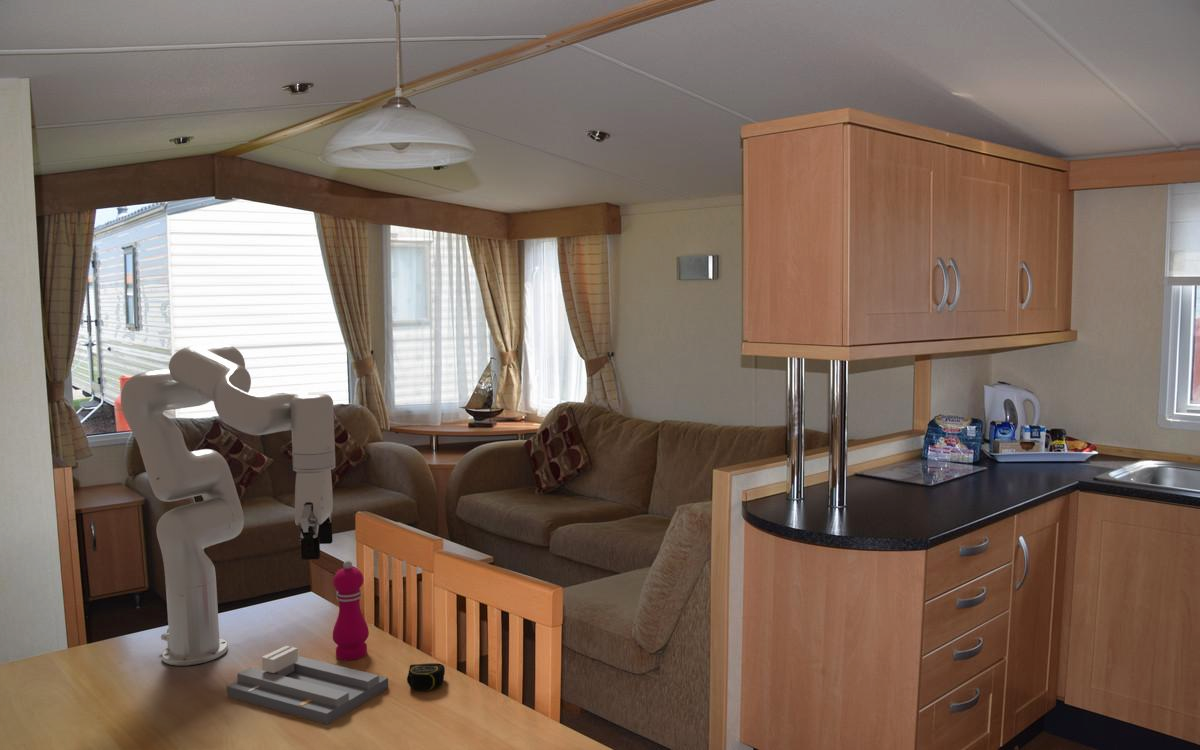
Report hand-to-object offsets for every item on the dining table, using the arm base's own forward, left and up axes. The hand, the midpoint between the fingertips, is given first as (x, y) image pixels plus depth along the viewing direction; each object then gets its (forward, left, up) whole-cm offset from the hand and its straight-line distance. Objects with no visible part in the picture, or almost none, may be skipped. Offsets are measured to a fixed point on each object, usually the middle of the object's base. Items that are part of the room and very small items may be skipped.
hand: (317, 550), depth 169 cm
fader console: (-2, -2, -27) cm, 27 cm away
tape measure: (+16, +10, -27) cm, 33 cm away
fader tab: (-9, -2, -25) cm, 26 cm away
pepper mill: (-7, +15, -27) cm, 32 cm away
